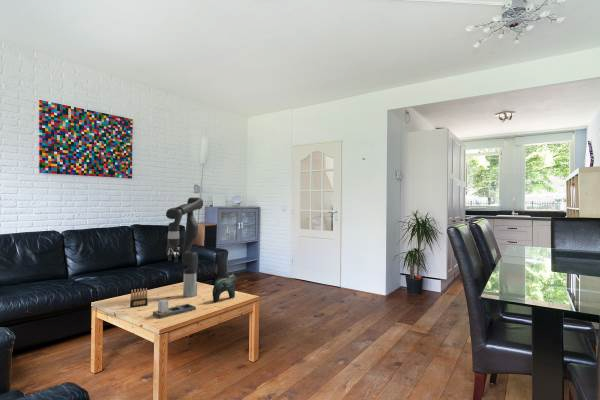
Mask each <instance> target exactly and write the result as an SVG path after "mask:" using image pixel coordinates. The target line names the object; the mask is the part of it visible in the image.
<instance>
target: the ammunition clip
mask: <svg viewBox="0 0 600 400" xmlns="http://www.w3.org/2000/svg"><path fill="white" fill-rule="evenodd" d="M130 292H131V293H130V303H129V307H130V308H133V309H134V308H140V307H146V306H147V307H148V306H149V305H148V304H149V303H148V288H147V287H146V288H143V289H142V288H140V289H139V288H137V289H136V288H134V290H133V289H131V291H130Z"/></svg>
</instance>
